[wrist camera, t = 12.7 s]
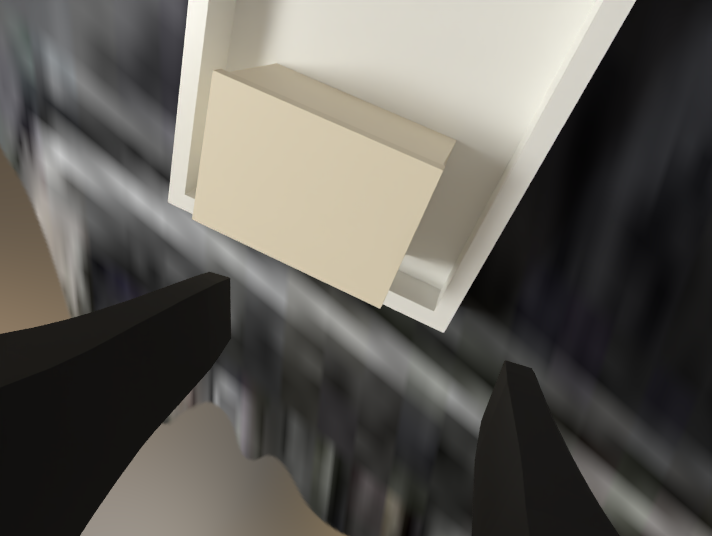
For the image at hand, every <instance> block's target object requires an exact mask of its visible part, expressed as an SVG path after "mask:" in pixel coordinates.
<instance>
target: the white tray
mask: <svg viewBox="0 0 712 536" xmlns="http://www.w3.org/2000/svg"><path fill="white" fill-rule="evenodd" d="M635 1H636V0H189V2H188V12H187V22H186V31H185V41H184V51H183V61H182V70H181V80H180V90H179V100H178V109H177V119H176V129H175V139H174V148H173V158H172V168H171V178H170V187H169V197H168V203H171V204H173V205H175V206H177V207H179V208H181V209H183V210H185V211H187V212H190V213H192V214H193V209H194V202H195V195H196V188H197V180H198V173H199V166H200V159H201V152H202V144H203V137H204V130H205V123H206V115H207V108H208V101H209V94H210V87H211V79H212V72H213V70H217V69H223V70H225V71H228V72H231V71H236V70H242V69H248V68H253V67H259V66H264V65H270V64H275V63H277V64H280V65H282V66H284V67H287V68H289V69H291V70H294V71H296V72H298V73H301V74H303V75H305V76H308V77H310V78H312V79H315V80H317V81H319V82H322V83H324V84H326V85H329V86H331V87H333V88H336V89H338V90H340V91H343V92H345V93H347V94H350V95H352V96H354V97H357V98H359V99H362V100H364V101H366V102H369V103H371V104H373V105H376V106H378V107H380V108H383V109H385V110H387V111H390V112H392V113H394V114H397V115H399V116H401V117H404V118H406V119H408V120H411V121H413V122H415V123H418V124H420V125H422V126H425V127H427V128H429V129H432V130H434V131H436V132H439V133H441V134H443V135H446V136H448V137H450V138H453V139H455V140H457V141H456V143H455V145H454V147H453V149H452V151H451V154H450V156H449V158H448V160H447V162H446V165H445V169H444V171H443V173H442V175H441V177H440V180H439V182H438V184H437V186H436V188H435V190H434V193H433V195H432V197H431V199H430V201H429V204H428V206H427V208H426V210H425V212H424V215H423V217H422V219H421V221H420V223H419V226H418V228H417V230H416V232H415V234H414V236H413V239H412V241H411V243H410V245H409V247H408V250H407V252H406V254H405V256H404V258H403V261H402V263H401V265H400V267H399V269H398V272H397V274H396V276H395V278H394V280H393V282H392V285H391V287H390V289H389V291H388V293H387V296H386V298H385V300H384V302H383V304H384V305H386V306H388V307H390V308H392V309H394V310H396V311H398V312H401V313H403V314H405V315H407V316H409V317H411V318H413V319H415V320H417V321H420V322H422V323H424V324H426V325H428V326H430V327H432V328H434V329H436V330H439V331H441V332H443V333H444V331H445V330H446V328H447V326H448V324H449V323H450V321H451V319H452V318H453V316H454V314H455V312H456V311H457V309H458V307H459V305H460V304H461V302H462V300H463V299H464V297H465V295H466V293H467V292H468V290H469V288H470V286H471V285H472V283H473V281H474V280H475V278H476V276H477V274H478V273H479V271H480V269H481V267H482V266H483V264H484V262H485V261H486V259H487V257H488V255H489V254H490V252H491V250H492V248H493V247H494V245H495V243H496V242H497V240H498V238H499V236H500V235H501V233H502V231H503V229H504V228H505V226H506V224H507V223H508V221H509V219H510V217H511V216H512V214H513V212H514V210H515V209H516V207H517V205H518V204H519V202H520V200H521V198H522V197H523V195H524V193H525V191H526V190H527V188H528V186H529V185H530V183H531V181H532V179H533V178H534V176H535V174H536V172H537V171H538V169H539V167H540V166H541V164H542V162H543V160H544V159H545V157H546V155H547V153H548V152H549V150H550V148H551V147H552V145H553V143H554V141H555V140H556V138H557V136H558V134H559V133H560V131H561V129H562V127H563V126H564V124H565V122H566V121H567V119H568V117H569V115H570V114H571V112H572V110H573V108H574V107H575V105H576V103H577V102H578V100H579V98H580V96H581V95H582V93H583V91H584V89H585V88H586V86H587V84H588V83H589V81H590V79H591V77H592V76H593V74H594V72H595V70H596V69H597V67H598V65H599V64H600V62H601V60H602V58H603V57H604V55H605V53H606V51H607V50H608V48H609V46H610V45H611V43H612V41H613V39H614V38H615V36H616V34H617V32H618V31H619V29H620V27H621V26H622V24H623V22H624V20H625V19H626V17H627V15H628V13H629V12H630V10H631V8H632V7H633V5H634V3H635Z"/></svg>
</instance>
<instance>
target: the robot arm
mask: <svg viewBox="0 0 712 536" xmlns="http://www.w3.org/2000/svg"><path fill="white" fill-rule="evenodd" d="M230 339H231V313H230V278H229V277H225V276H222V275H219V274H215V273H212V272H208V273H204V274H201V275H198V276H195V277H192V278H189V279H186V280H183V281H181V282H178V283H175V284H173V285H170V286H167V287H164V288H162V289H159V290H156V291H153V292H151V293H148V294H145V295H142V296H140V297H137V298H134V299H131V300H128V301H125V302H122V303H119V304H116V305H113V306H110V307H107V308H104V309H101V310H98V311H95V312H91V313H88V314H85V315H81V316H78V317H74V318H70V319H67V320H63V321H59V322H55V323H51V324H47V325H43V326H38V327H34V328H29V329H24V330H19V331H13V332H8V333H3V334H0V536H80V535H81V533H82V532H83V530H84V529H85V527H86V525H87V524H88V522H89V521H90V519H91V518H92V516H93V515H94V513H95V512H96V510H97V509H98V507H99V506H100V504H101V503H102V502H103V500H104V499H105V497H106V496H107V494H108V493H109V491H110V490H111V489H112V487H113V486H114V484H115V483H116V481H117V480H118V479H119V477H120V476H121V474H122V473H123V472H124V470H125V469H126V468H127V466H128V465H129V463H130V462H131V461H132V459H133V458H134V457H135V455H136V454H137V452H138V451H139V450H140V448H141V447H142V446H143V445H144V443H145V442H146V441H147V440H148V438H149V437H150V436H151V435H152V434H153V433H154V431H155V430H156V429H157V428H158V427H159V426H160V425H161V424H162V423H163V421H164V420H165V419H166V418H167V417H168V416H169V415H170V414H171V413H172V411H173V410H174V409H175V408H176V407H177V406H178V405H179V404H180V403H181V401H182V400H183V399H184V398H185V397H186V396H187V395H188V394H189V393H190V391H191V390H192V389H193V388H194V387H195V386H196V385H197V383H198V382H199V381H200V380H201V379H202V378H203V377H204V376H205V374H206V373H207V372H208V371H209V370H210V369H211V367H212V366H213V364H214V363H215V361H216V360H217V359H218V357H219V356H220V354H221V353H222V351H223V350H224V348H225V346H226V345H227V343H228V342H229V340H230ZM472 536H619V534H618V533H617V531H616V530H615V528H614V527H613V525H612V524H611V522H610V521H609V519H608V518H607V516H606V515H605V513H604V511H603V510H602V508H601V507H600V505H599V503H598V502H597V500H596V498H595V497H594V495H593V493H592V492H591V490H590V488H589V486H588V485H587V483H586V481H585V479H584V477H583V476H582V474H581V472H580V470H579V469H578V467H577V465H576V463H575V461H574V459H573V457H572V455H571V453H570V452H569V450H568V447H567V445H566V443H565V441H564V439H563V437H562V435H561V433H560V431H559V429H558V427H557V425H556V423H555V421H554V418H553V416H552V414H551V412H550V409H549V407H548V405H547V403H546V400H545V398H544V395H543V393H542V391H541V388H540V386H539V383H538V381H537V378H536V375H535V373H534V371H533V370H532V368H529V367H526V366H522V365H519V364H516V363H512V362H509V361H506V360H505V361H504V364H503V366H502V369H501V372H500V374H499V377H498V379H497V382H496V384H495V387H494V390H493V392H492V395H491V397H490V400H489V402H488V405H487V408H486V410H485V413H484V415H483V418H482V420H481V426H480V432H479V438H478V444H477V450H476V457H475V469H474V491H473V515H472Z"/></svg>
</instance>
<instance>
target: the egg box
mask: <svg viewBox="0 0 712 536" xmlns="http://www.w3.org/2000/svg"><path fill="white" fill-rule="evenodd" d="M456 141H457V140H455V139H453V138H450V137H448V136H446V135H443V134H441V133H439V132H436V131H434V130H432V129H429V128H427V127H425V126H422V125H420V124H418V123H415V122H413V121H411V120H408V119H406V118H404V117H401V116H399V115H397V114H394V113H392V112H390V111H387V110H385V109H383V108H380V107H378V106H376V105H373V104H371V103H369V102H366V101H364V100H362V99H359V98H357V97H354V96H352V95H350V94H347V93H345V92H343V91H340V90H338V89H336V88H333V87H331V86H329V85H326V84H324V83H322V82H319V81H317V80H315V79H312V78H310V77H308V76H305V75H303V74H301V73H298V72H296V71H294V70H291V69H289V68H287V67H284V66H282V65H280V64H277V63H275V64H270V65H264V66H259V67H253V68H248V69H242V70H236V71H231V72H228V71H225V70H223V69H217V70H213V72H212V79H211V87H210V94H209V101H208V108H207V115H206V123H205V130H204V137H203V144H202V152H201V159H200V166H199V173H198V180H197V188H196V195H195V202H194V209H193V217H192V219H193V220H195V221H197V222H199V223H201V224H203V225H205V226H207V227H209V228H211V229H214V230H216V231H218V232H220V233H222V234H224V235H226V236H228V237H230V238H232V239H235V240H237V241H239V242H241V243H243V244H245V245H247V246H249V247H251V248H254V249H256V250H258V251H260V252H262V253H264V254H266V255H268V256H270V257H272V258H275V259H277V260H279V261H281V262H283V263H285V264H287V265H289V266H291V267H294V268H296V269H298V270H300V271H302V272H304V273H306V274H308V275H310V276H312V277H315V278H317V279H319V280H321V281H323V282H325V283H327V284H329V285H331V286H333V287H336V288H338V289H340V290H342V291H344V292H346V293H348V294H350V295H352V296H355V297H357V298H359V299H361V300H363V301H365V302H367V303H369V304H371V305H373V306H376V307H378V308H381V306H382V304H383V302H384V300H385V298H386V296H387V293H388V291H389V289H390V287H391V285H392V282H393V280H394V278H395V276H396V274H397V272H398V269H399V267H400V265H401V263H402V261H403V258H404V256H405V254H406V252H407V250H408V247H409V245H410V243H411V241H412V239H413V236H414V234H415V232H416V230H417V228H418V226H419V223H420V221H421V219H422V217H423V215H424V212H425V210H426V208H427V206H428V204H429V201H430V199H431V197H432V195H433V193H434V190H435V188H436V186H437V184H438V182H439V180H440V177H441V175H442V173H443V171H444V169H445V165H446V162H447V160H448V158H449V156H450V154H451V151H452V149H453V147H454V145H455V143H456Z"/></svg>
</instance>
